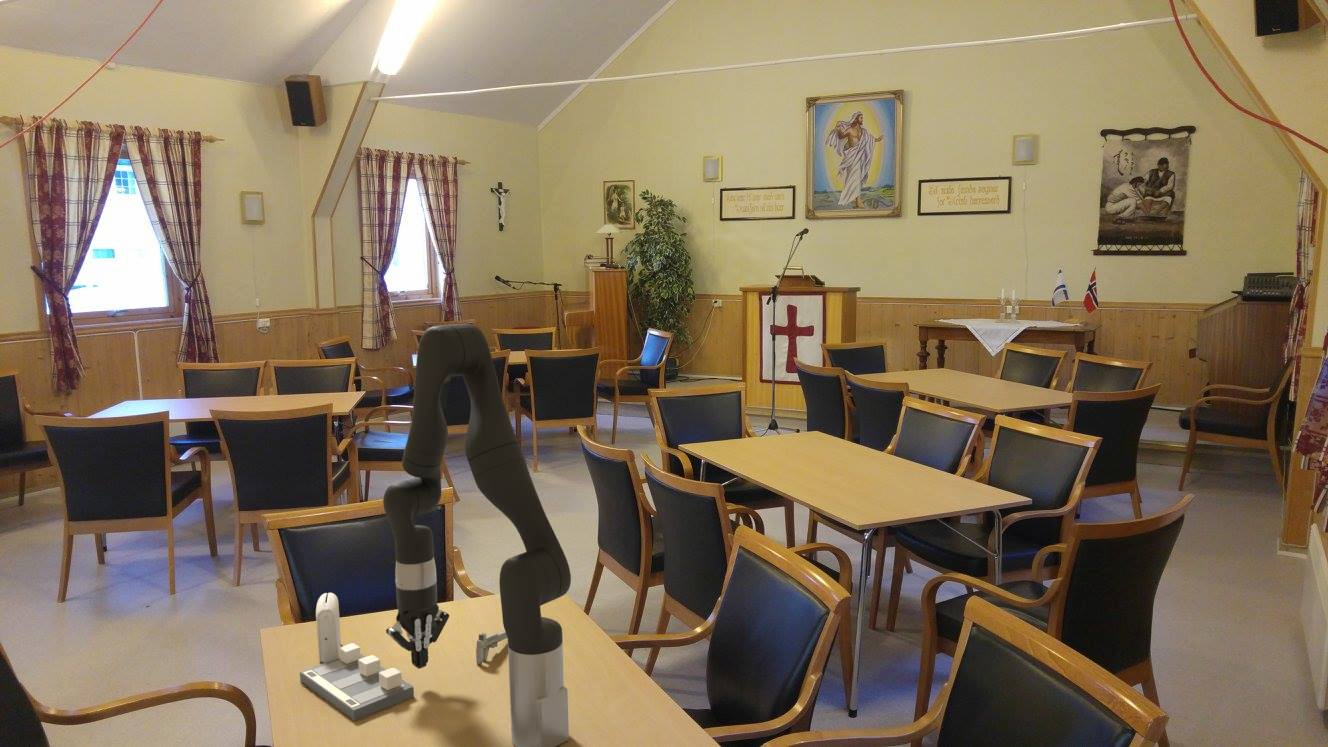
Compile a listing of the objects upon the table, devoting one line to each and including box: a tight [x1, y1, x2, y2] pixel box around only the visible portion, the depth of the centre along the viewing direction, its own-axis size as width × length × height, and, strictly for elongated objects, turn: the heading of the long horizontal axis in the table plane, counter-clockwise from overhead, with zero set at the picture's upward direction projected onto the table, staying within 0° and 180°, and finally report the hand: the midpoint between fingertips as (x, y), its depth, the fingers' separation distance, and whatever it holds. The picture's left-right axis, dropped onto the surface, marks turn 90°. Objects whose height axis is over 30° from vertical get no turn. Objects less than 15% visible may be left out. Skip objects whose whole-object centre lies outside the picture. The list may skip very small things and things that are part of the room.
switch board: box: [299, 653, 415, 721], centre depth 173 cm, size 22×12×2 cm, turn 46°
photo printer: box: [315, 592, 342, 664], centre depth 188 cm, size 10×4×12 cm, turn 17°
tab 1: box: [339, 642, 361, 664], centre depth 181 cm, size 3×3×2 cm
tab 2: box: [379, 667, 403, 690], centre depth 170 cm, size 3×3×2 cm
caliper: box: [475, 629, 508, 666], centre depth 192 cm, size 20×1×6 cm, turn 161°
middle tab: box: [358, 654, 382, 677], centre depth 175 cm, size 3×3×2 cm
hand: (420, 666), depth 174 cm, fingers closed
